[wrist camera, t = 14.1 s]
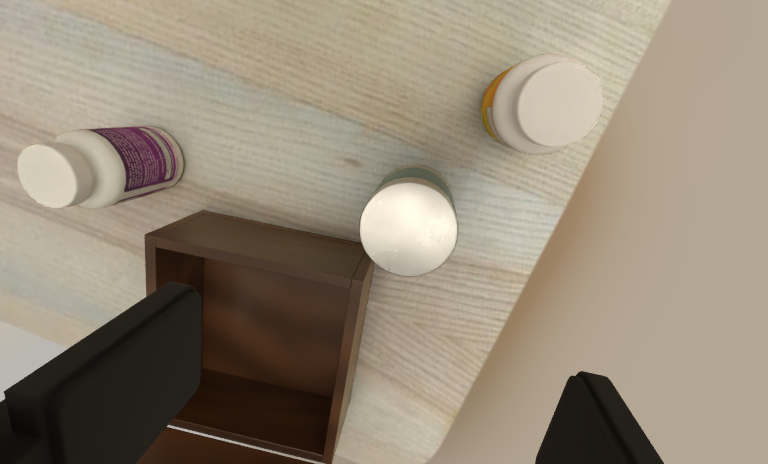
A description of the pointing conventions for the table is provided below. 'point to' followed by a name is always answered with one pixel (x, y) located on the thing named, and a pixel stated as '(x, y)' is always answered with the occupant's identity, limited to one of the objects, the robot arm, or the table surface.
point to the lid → (205, 451)
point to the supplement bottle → (542, 104)
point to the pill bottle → (100, 166)
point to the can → (410, 222)
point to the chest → (268, 328)
